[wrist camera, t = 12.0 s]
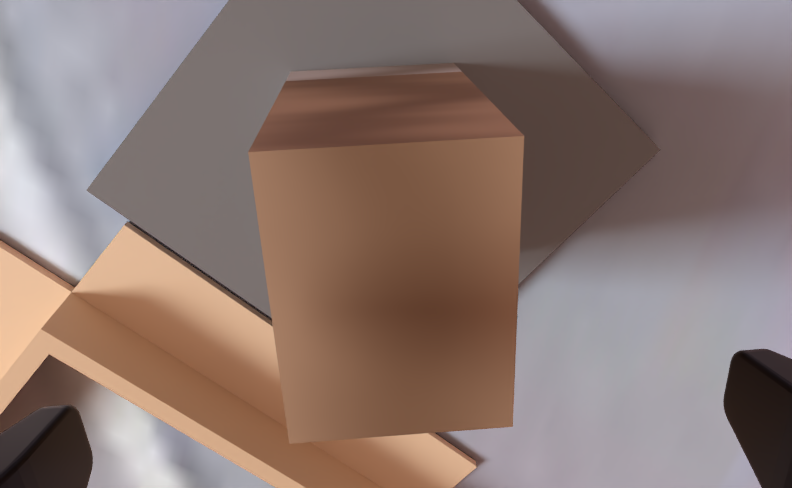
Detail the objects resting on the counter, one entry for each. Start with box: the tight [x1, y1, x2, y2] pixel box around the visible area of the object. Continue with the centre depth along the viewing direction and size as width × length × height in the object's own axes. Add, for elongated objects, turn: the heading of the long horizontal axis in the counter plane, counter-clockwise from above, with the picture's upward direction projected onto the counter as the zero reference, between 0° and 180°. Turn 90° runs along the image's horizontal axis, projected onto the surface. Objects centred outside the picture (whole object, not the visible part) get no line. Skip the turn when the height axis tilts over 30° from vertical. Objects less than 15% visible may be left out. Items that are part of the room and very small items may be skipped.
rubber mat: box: [87, 0, 660, 318], centre depth 19 cm, size 12×12×1 cm
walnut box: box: [248, 63, 524, 444], centre depth 15 cm, size 4×6×8 cm
